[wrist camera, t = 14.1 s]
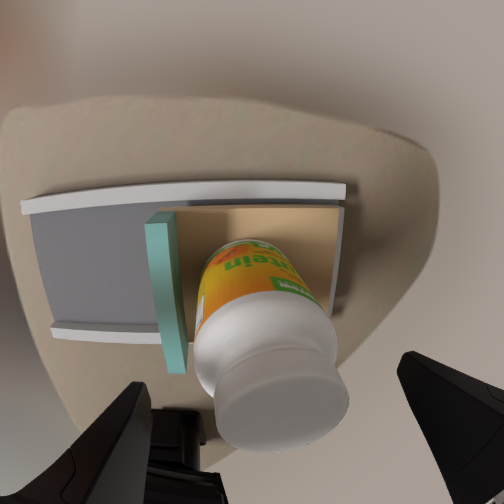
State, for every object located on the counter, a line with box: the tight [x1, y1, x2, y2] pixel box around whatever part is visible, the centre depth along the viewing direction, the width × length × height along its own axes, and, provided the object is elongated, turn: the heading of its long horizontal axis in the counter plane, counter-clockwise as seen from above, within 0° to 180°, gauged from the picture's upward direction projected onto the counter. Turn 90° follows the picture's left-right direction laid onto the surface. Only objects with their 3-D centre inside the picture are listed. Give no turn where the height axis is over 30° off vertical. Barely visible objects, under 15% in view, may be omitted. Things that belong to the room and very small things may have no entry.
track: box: [21, 179, 346, 344], centre depth 18 cm, size 11×22×2 cm, turn 89°
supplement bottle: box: [194, 239, 349, 453], centre depth 11 cm, size 5×5×10 cm
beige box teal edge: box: [145, 204, 339, 373], centre depth 16 cm, size 8×10×5 cm
